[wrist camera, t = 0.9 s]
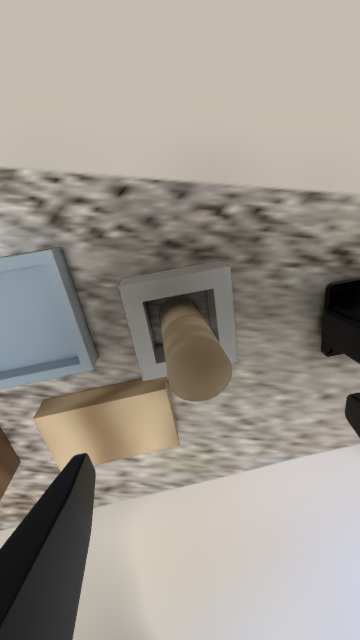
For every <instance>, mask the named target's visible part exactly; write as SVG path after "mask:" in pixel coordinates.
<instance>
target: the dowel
mask: <svg viewBox="0 0 360 640" xmlns="http://www.w3.org/2000/svg"><path fill="white" fill-rule="evenodd" d="M159 317H160V324H161V332H162V339H163V346H164V353H165V360H166V368H167V375H168V382H169V385H170V387H171V389H172V391H173V392H174V393H175V394H176V395H177V396H179V397H180V398H182V399H185V400H188V401H205V400H208V399H211V398H213V397H215V396H217V395H218V394H220V393H221V392H222V391H223V390H224V389H225V388H226V386H227V385H228V383H229V381H230V379H231V376H232V366H231V362H230V360H229V358H228V357H227V355H226V353H225V352H224V350H223V348H222V347H221V345H220V343H219V342H218V340H217V338H216V337H215V335H214V334H213V332H212V330H211V329H210V327H209V325H208V324H207V322H206V320H205V319H204V317H203V315H202V314H201V312H200V310H199V309H198V307H197V305H196V304H195V302H194V301H193V300H191V299H190V298H188V297H185V296H174V297H171V298H169V299H168V300H166V301H165V302H164V304H163V305H162V307H161V309H160V313H159Z"/></svg>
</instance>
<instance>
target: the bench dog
mask: <svg viewBox="0 0 360 640" xmlns="http://www.w3.org/2000/svg"><path fill="white" fill-rule="evenodd" d="M19 464H20V460H19V459H18V457H17V455H16V454H15V452H14V450H13V449H12V447H11V445H10V443H9V442H8V440H7V438H6V437H5V435H4V433H3V432H2V430H1V428H0V500H1V498H2V496H3V494H4V493H5V491H6V489H7V487H8V485H9V483H10V481H11V479H12V477H13V475H14V474H15V472H16V470H17V468H18V466H19Z"/></svg>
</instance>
